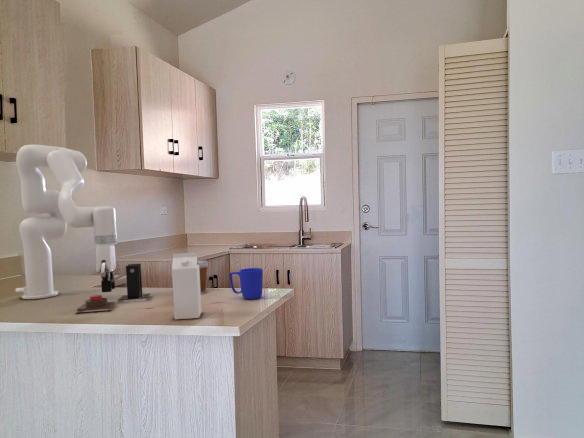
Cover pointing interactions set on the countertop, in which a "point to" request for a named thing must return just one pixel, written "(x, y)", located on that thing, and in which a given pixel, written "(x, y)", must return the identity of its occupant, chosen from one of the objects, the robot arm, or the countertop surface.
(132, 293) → the black lever base
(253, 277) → the mug
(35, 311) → the countertop surface
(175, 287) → the milk carton
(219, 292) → the countertop surface
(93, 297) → the button
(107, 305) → the button block
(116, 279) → the lever
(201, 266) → the disposable coffee cup
